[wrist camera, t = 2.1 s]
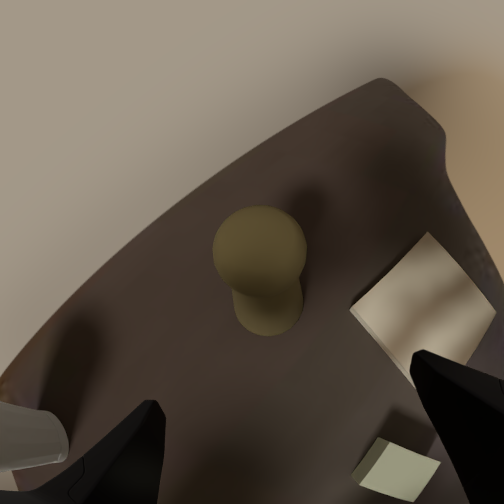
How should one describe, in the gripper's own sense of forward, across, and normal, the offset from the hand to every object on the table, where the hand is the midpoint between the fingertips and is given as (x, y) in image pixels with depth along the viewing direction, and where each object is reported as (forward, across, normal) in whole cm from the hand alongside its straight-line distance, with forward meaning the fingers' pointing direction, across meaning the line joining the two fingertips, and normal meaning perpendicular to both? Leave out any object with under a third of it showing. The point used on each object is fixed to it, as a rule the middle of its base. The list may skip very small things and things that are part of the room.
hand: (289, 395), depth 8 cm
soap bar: (+3, -8, +16) cm, 18 cm away
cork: (+15, 0, +4) cm, 16 cm away
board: (+12, -15, +7) cm, 20 cm away
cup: (+6, +26, +14) cm, 30 cm away
